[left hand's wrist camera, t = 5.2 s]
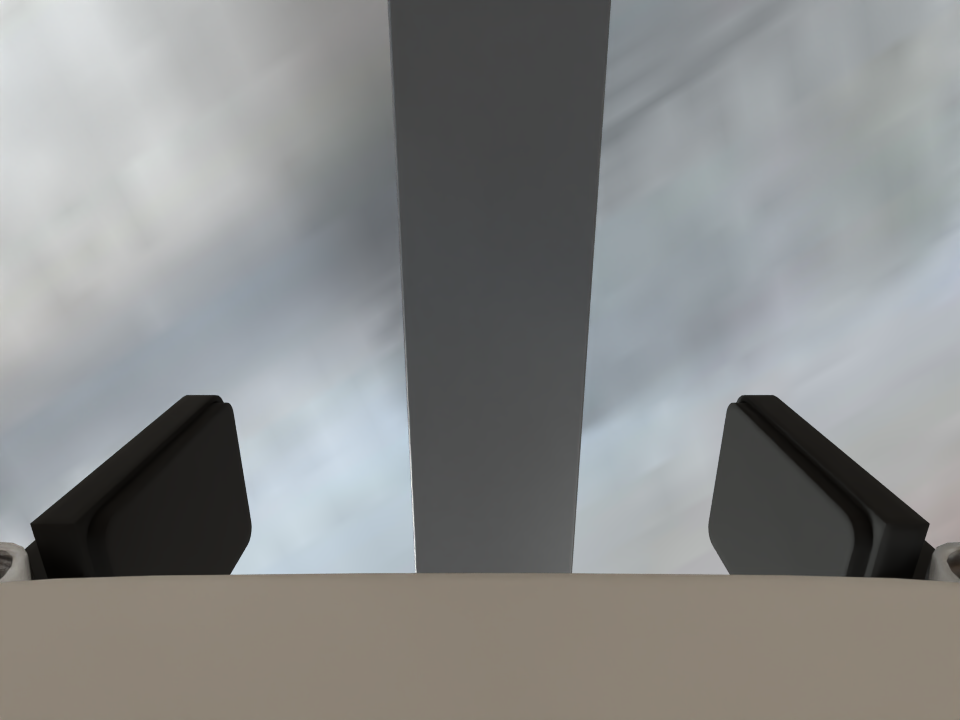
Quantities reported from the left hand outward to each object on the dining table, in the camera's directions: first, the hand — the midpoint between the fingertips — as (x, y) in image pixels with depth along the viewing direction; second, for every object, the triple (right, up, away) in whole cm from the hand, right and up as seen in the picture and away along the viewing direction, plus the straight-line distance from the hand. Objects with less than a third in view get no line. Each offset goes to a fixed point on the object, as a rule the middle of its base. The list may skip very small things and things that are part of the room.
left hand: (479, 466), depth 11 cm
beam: (0, +27, +4) cm, 27 cm away
